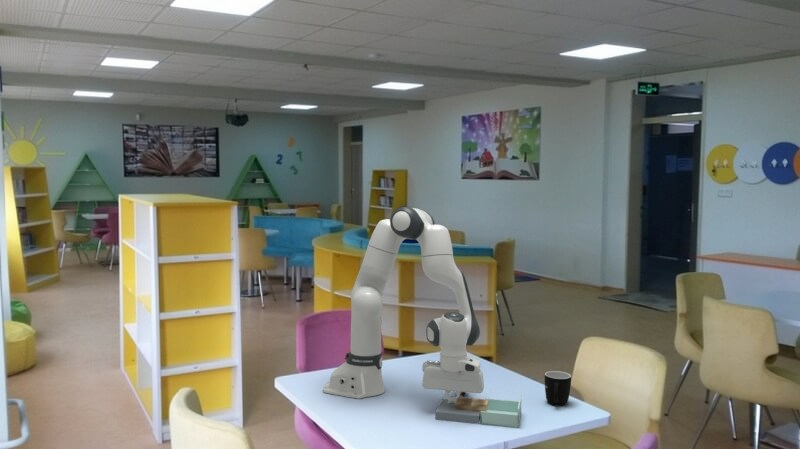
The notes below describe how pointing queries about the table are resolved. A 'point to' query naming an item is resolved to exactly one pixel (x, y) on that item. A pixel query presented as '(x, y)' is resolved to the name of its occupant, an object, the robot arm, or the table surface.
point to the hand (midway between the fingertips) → (452, 403)
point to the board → (456, 413)
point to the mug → (557, 387)
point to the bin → (502, 413)
